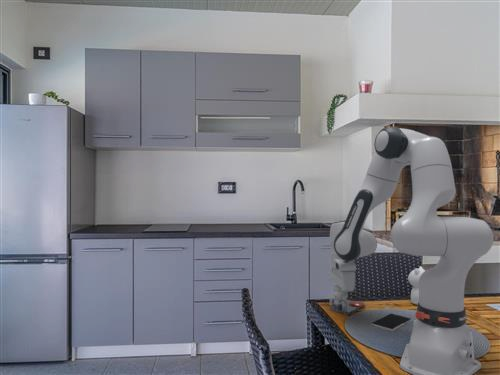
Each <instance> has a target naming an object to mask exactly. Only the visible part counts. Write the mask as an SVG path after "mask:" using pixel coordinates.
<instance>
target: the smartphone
mask: <svg viewBox="0 0 500 375" xmlns="http://www.w3.org/2000/svg"><path fill="white" fill-rule="evenodd" d="M410 320H411V321H412V318H411V317H407V316H403V315H399V314H394V313H389V314H387V315H384V316H383V317H381V318H379V319H377V320H375V321H373V322H371V326H372V325H374V326H373V327H375V326H377V327H376V328H378V327H380V328H379V329H382V328H383V329H382V330H385V329H386V331H389V330H390V331H389V332H395V331H397V330H399V329H400V328H401V327H400V326H402V325H403V326H405V325H406V324H405V323H407V322H408V323H410V322H411V321H410ZM409 321H410V322H409ZM408 323H407V324H408ZM404 324H405V325H404ZM403 326H402V327H403ZM399 327H400V328H399ZM398 328H399V329H398ZM396 329H397V330H396Z"/></svg>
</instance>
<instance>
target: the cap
mask: <svg viewBox="0 0 500 375" xmlns="http://www.w3.org/2000/svg"><path fill="white" fill-rule="evenodd" d="M333 289H334V295H332V299H333V300H334V299H336V300H340V301H344V300H342V299H341V295H342V291H341V288H340V287H339V286H336V285H334V286H333ZM348 296H349V294H348V293H347V298H348Z"/></svg>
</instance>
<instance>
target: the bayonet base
mask: <svg viewBox="0 0 500 375" xmlns="http://www.w3.org/2000/svg"><path fill="white" fill-rule="evenodd" d="M329 306H330V307H329V311H330V312H334V313H338V314H339V313H340V314H342V315H347V316H350V315H351V314H354V313H356V311H359V310H360V309H362V308H363V307H366V303H365V302H364V301H361V300H350V299H347V300H344V301H340V300H336V299H333V298H329Z"/></svg>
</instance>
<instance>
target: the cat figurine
mask: <svg viewBox="0 0 500 375" xmlns="http://www.w3.org/2000/svg"><path fill="white" fill-rule="evenodd" d="M425 271H426V270H425V269H424V268H423V267H422V265H420V266H419V268H417V267H416V268H415V269H413V270H412V271H410V273H409V274H408V277H407V279H408V283H409V284H410V285H411V286H413V287H412V289H411V291H410V300H411V303H412V304H414V305H416V306H417V305H418V303H419V278H420V276H421V275H422V273H423V272H425Z"/></svg>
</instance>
